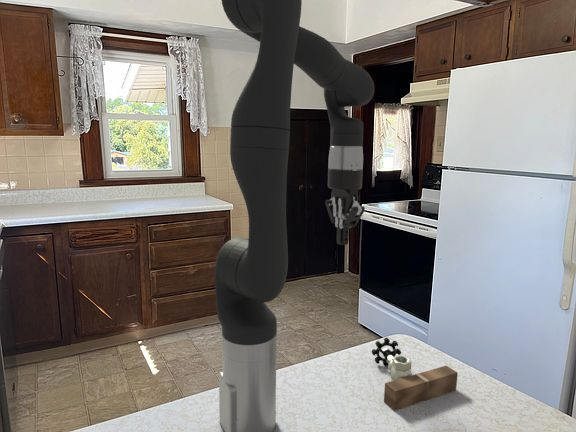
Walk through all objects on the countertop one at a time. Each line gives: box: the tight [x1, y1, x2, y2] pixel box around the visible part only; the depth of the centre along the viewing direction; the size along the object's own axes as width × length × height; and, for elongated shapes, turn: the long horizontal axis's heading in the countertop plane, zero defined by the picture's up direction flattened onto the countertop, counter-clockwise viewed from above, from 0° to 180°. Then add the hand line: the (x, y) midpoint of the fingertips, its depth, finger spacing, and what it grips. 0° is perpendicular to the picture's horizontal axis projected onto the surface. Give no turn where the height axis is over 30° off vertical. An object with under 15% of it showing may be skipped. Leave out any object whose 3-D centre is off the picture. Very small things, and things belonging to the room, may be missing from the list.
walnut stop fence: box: [383, 365, 459, 412], centre depth 83 cm, size 16×3×4 cm, turn 116°
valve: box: [371, 337, 413, 382], centre depth 89 cm, size 7×7×12 cm
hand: (342, 244), depth 95 cm, fingers closed
